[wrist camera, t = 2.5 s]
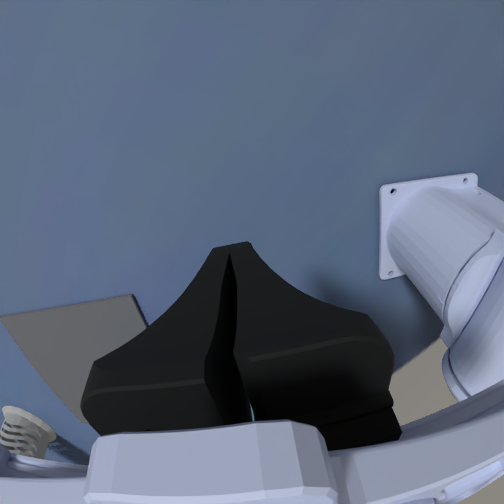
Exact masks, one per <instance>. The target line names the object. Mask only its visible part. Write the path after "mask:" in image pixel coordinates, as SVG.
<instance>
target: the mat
mask: <svg viewBox="0 0 504 504" xmlns="http://www.w3.org/2000/svg"><path fill="white" fill-rule="evenodd" d="M0 320H1V321H2V323H3V324H4V326H5V327H6V329H7V330H8V332H9V333H10V335H11V336H12V338H13V339H14V341H15V342H16V344H17V345H18V346H19V348H20V349H21V351H22V352H23V353H24V355H25V356H26V357H27V359H28V360H29V362H30V363H31V364H32V365H33V367H34V368H35V369H36V371H37V372H38V373H39V374H40V376H41V377H42V378H43V379H44V381H45V382H46V383H47V384H48V386H49V387H50V388H51V389H52V390H53V392H54V393H55V394H56V395H57V396H58V397H59V399H60V400H61V401H62V402H63V403H64V404H65V405H66V406H67V407H68V409H69V410H70V411H71V412H72V413H73V414H74V415H75V416H76V417H77V418H78V419H79V420H80V421H81V422H82V423H88V421H87V420H86V419H85V417H84V416H83V414H82V411H81V408H80V404H81V398H82V395H83V392H84V389H85V385H86V382H87V379H88V376H89V373H90V370H91V367H92V365H93V362H94V361H95V360H97V359H99V358H101V357H103V356H105V355H106V354H108V353H110V352H112V351H113V350H115V349H117V348H119V347H120V346H122V345H124V344H125V343H127V342H128V341H130V340H131V339H133V338H134V337H136V336H137V335H138V334H140V333H141V332H142V331H144V330H145V329H146V328H148V327H147V325H146V323H145V321H144V319H143V316H142V314H141V312H140V310H139V308H138V306H137V304H136V302H135V299H134V297H133V295H132V294H130V295H124V296H118V297H113V298H107V299H101V300H96V301H90V302H84V303H78V304H72V305H66V306H60V307H54V308H48V309H42V310H36V311H30V312H23V313H17V314H11V315H4V316H0Z"/></svg>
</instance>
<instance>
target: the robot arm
mask: <svg viewBox="0 0 504 504" xmlns="http://www.w3.org/2000/svg"><path fill="white" fill-rule="evenodd" d="M464 179H465V181H464V182H463V180H464ZM477 182H478V177H477V175H476V174H474V173H466V174H458V175H450V176H443V177H435V178H428V179H421V180H414V181H407V182H400V183H393V184H387V185H383V186H382V187H381V188H380V191H379V201H380V244H379V277H380V278H381V279H382V280H386V279H390V278H394V277H398V276H402V275H407V277H408V278H409V279H410V280H411V282H412V283H413V284H414V285H415V287H416V288H417V289H418V290H419V292H420V293H421V294H422V296H423V297H424V298H425V299H426V301H427V302H428V303H429V305H430V306H431V307H432V309H433V310H434V311H435V313H436V314H437V315H438V317H439V318H440V319H441V321H442V322H443V323H444V328H443V330H442V332H441V334H440V337H441V338H442V340H443V341H444V343H445V344H446V346H447V347H448V350H447V351H446V353H445V354H444V356H443V359H442V371H443V375H444V378H445V381H446V383H447V386H448V388H449V390H450V392H451V393H452V395H453V396H454V398H455V399H456V400H457V401H458V403H456V404H454V405H452V406H449V407H448V408H445V409H443V410H440V411H438V412H436V413H433V414H431V415H428V416H426V417H423V418H421V419H418V420H416V421H413V422H411V423H408V424H405V425H402V426H400V425H399V423H398V420H397V418H396V416H395V413H394V411H393V409H392V406H393V399H392V397H391V394H390V392H389V390H388V389H389V384H390V380H391V376H392V371H393V367H394V354H393V351H392V349H391V347H390V345H389V343H388V341H387V339H386V338H385V336H384V335H383V333H382V332H381V331H380V330H379V328H378V327H377V326H376V324H375V323H374V322H373V321H372V319H371V318H370V317H369V316H368V315H367V314H363V313H359V312H355V311H351V310H347V309H343V308H339V307H336V306H333V305H331V304H328V303H325V302H322V301H320V300H318V299H315V298H313V297H311V296H309V295H307V294H305V293H303V292H301V291H300V290H298V289H296V288H295V287H293V286H292V285H290V284H289V283H288V282H286V281H285V280H284V279H282V278H281V277H280V276H279V275H277V274H276V273H275V272H274V271H273V270H272V269H271V268H270V267H269V266H268V265H267V264H266V263H265V262H264V261H263V260H262V259H261V258H260V257H259V255H258V254H257V253H256V251H255V250H254V249H253V247H252V245H251V243H249V242H248V241H246V242H241V243H236V244H231V245H226V246H221V247H216V248H213V249H212V251H211V252H210V254H209V255H208V257H207V259H206V260H205V262H204V264H203V265H202V267H201V269H200V270H199V272H198V273H197V275H196V276H195V278H194V279H193V281H192V282H191V283H190V285H189V286H188V287H187V288H186V290H185V291H184V292H183V294H182V295H181V296H180V297H179V298H178V299H177V301H176V302H175V303H174V304H173V305H172V306H171V307H170V308H169V309H168V310H167V311H166V312H165V313H164V314H163V315H161V316H160V317H159V318H158V319H157V320H156V321H154V322H153V323H152V324H151V325H150V326H149V327H148V328H146V329H145V330H144V331H142V332H141V333H140V334H138V335H137V336H136V337H134V338H133V339H131V340H130V341H128V342H127V343H125V344H124V345H122V346H120V347H119V348H117V349H115V350H113V351H112V352H110V353H108V354H106V355H105V356H103V357H101V358H99V359H97V360H95V361H94V362H93V365H92V367H91V370H90V373H89V376H88V379H87V382H86V385H85V389H84V392H83V395H82V398H81V404H80V408H81V411H82V414H83V416H84V417H85V419H86V420H87V421H88V423H89V424H90V425H91V426H92V427H93V428H94V429H95V430H96V431H97V432H98V433H99V434H100V435H101V437H98V439H97V440H96V442H95V443H94V445H93V446H92V451H91V455H90V460H89V466H87V465H78V464H70V463H63V462H56V461H50V460H44V459H39V458H33V457H28V456H24V455H19V454H15V453H10V451H9V450H8V449H7V448H6V447H5V446H4V445H2V444H1V443H0V504H456V503H458V502H460V501H462V500H463V499H465V498H467V497H469V496H470V495H472V494H474V493H475V492H477V491H479V490H480V489H482V488H483V487H485V486H487V485H488V484H490V483H492V482H493V481H495V480H496V479H498V478H499V477H501V476H502V475H504V202H503V201H501V200H500V199H498V198H497V197H495V196H493V195H492V194H490V193H488V192H486V191H485V190H483V189H481V188H479V187H478V186H477ZM393 188H394V192H393V193H390V192H391V190H392V189H393ZM390 271H392V272H391V273H390V274H388V273H389V272H390ZM250 404H251V405H250ZM251 407H252V410H253V413H254V421H253V419H252V412H251Z"/></svg>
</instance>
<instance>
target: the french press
mask: <svg viewBox="0 0 504 504" xmlns="http://www.w3.org/2000/svg"><path fill="white" fill-rule="evenodd" d="M2 411H3V414H4V417H5V420H4V422H3V424H2V427H1V429H0V436H1V435H2V436H3V437H2V439H0V443H1V444H2V445H4V446H5V447H6V448H7V449H8V450H9V451H10V453H15V454H19V455H24V456H28V457H33V458H39V459H44V456H45V453H46V449H47V446H48V443H49V442H52V441H54V440H56V434H55V432H54V431H53V430H52V428H51V427H49V426H48V425H47V424H46V423H45V422H44V421H42V420H41V419H39V418H37V417H36V416H34V415H33V414H31V413H29V412H27V411H25V410H23V409H20V408H17V407H14V406H4V407H3V409H2ZM6 422H7V423H8V424H7V426H6V425H5V423H6ZM3 428H4V429H5V432H3ZM14 439H17V440H18V441H19V442H20V443H16V441H15V440H14ZM13 447H17V448H18V449H19V450H21V451H18V450H15V449H14V448H13ZM22 447H23V448H26V449H28V450H26V449H23V448H22ZM34 447H37V450H35V449H34ZM10 449H11V450H10ZM30 450H31V451H30ZM30 454H34V455H35V456H31V455H30Z"/></svg>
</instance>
